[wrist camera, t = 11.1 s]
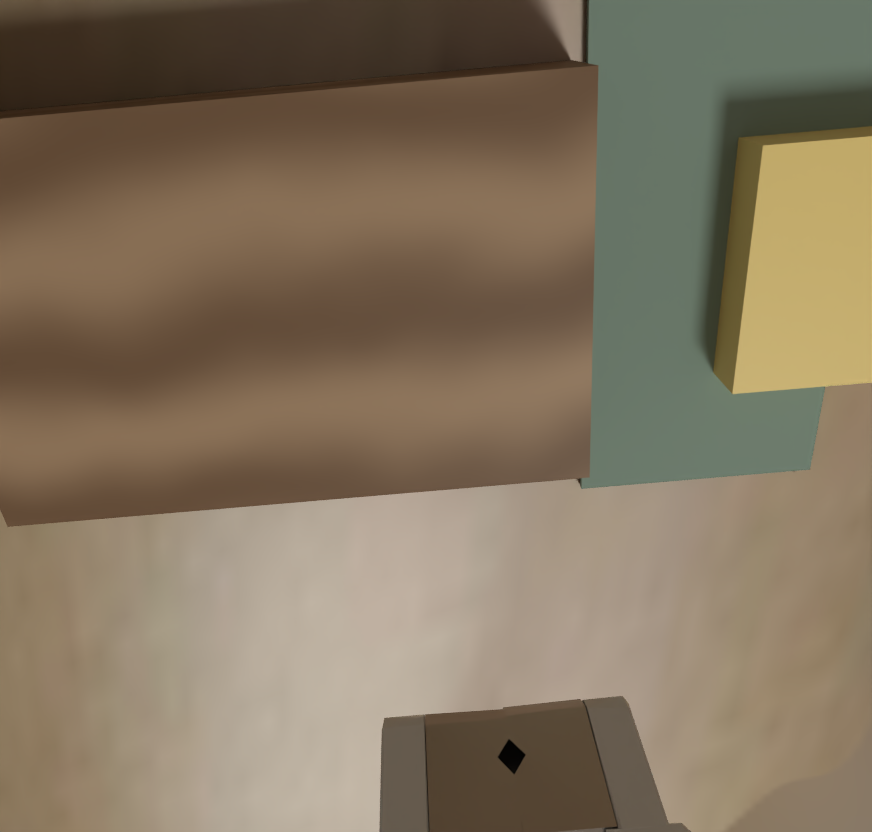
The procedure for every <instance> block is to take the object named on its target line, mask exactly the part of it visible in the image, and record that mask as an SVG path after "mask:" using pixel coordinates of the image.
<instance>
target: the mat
mask: <svg viewBox="0 0 872 832" xmlns="http://www.w3.org/2000/svg"><path fill="white" fill-rule="evenodd" d="M586 63H589V64H594V65H598V112H597V159H596V205H595V252H594V298H593V345H592V392H591V438H590V478H580V486H581V489H584V488H596V487H608V486H620V485H631V484H643V483H655V482H667V481H679V480H691V479H703V478H714V477H726V476H738V475H750V474H762V473H774V472H785V471H797V470H809V469H810V466H811V460H812V455H813V450H814V444H815V439H816V433H817V428H818V423H819V417H820V412H821V407H822V401H823V396H824V390H825V386H824V387H812V388H800V389H788V390H776V391H764V392H752V393H740V394H732V393H731V392H730V391H729V390H728V389H727V388H726V386H725V385H724V384H723V383H722V382H721V381H720V380H719V379H718V377H717V376H716V375H715V374H714V373H713V369H714V360H715V351H716V342H717V333H718V323H719V314H720V305H721V296H722V286H723V277H724V268H725V259H726V249H727V240H728V231H729V222H730V212H731V203H732V194H733V185H734V175H735V166H736V157H737V148H738V139H739V138H740V137H751V136H763V135H774V134H786V133H798V132H809V131H821V130H832V129H844V128H856V127H867V126H872V0H587V37H586Z"/></svg>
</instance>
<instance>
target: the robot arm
mask: <svg viewBox="0 0 872 832" xmlns="http://www.w3.org/2000/svg"><path fill="white" fill-rule="evenodd" d="M380 832H691V831H690V830H689V829H687V828H686V827H685V826H684V825H683V824H682V823H671V824H669V823H668V820H667V817H666V814H665V811H664V808H663V805H662V802H661V799H660V796H659V793H658V790H657V787H656V784H655V781H654V778H653V775H652V772H651V769H650V766H649V763H648V760H647V757H646V754H645V751H644V748H643V745H642V742H641V739H640V736H639V733H638V730H637V727H636V725H635V722H634V719H633V716H632V713H631V710H630V707H629V704H628V702H627V701H626V700H625V699H624V697H623V696H617V697H607V698H597V699H588V700H583V701H581V700H580V699H577V700H567V701H558V702H549V703H540V704H531V705H522V706H513V707H504V708H503V709H501V710H486V711H471V712H456V713H441V714H426V715H413V716H402V717H390V718H384V723H383V728H382V746H381V790H380Z"/></svg>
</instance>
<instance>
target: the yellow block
mask: <svg viewBox="0 0 872 832" xmlns="http://www.w3.org/2000/svg"><path fill="white" fill-rule="evenodd" d="M713 373H714V374H715V375H716V376H717V377H718V379H719V380H720V381H721V382H722V383H723V384H724V385H725V386H726V388H727V389H728V390H729V391H730V392H731V393H732V394H740V393H752V392H764V391H776V390H788V389H800V388H812V387H824V386H836V385H848V384H860V383H872V126H867V127H856V128H844V129H832V130H821V131H809V132H798V133H786V134H774V135H763V136H751V137H740V138H739V139H738V148H737V157H736V166H735V175H734V185H733V194H732V203H731V212H730V222H729V231H728V240H727V249H726V259H725V268H724V277H723V286H722V296H721V305H720V314H719V323H718V333H717V342H716V351H715V360H714V369H713Z"/></svg>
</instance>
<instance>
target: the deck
mask: <svg viewBox="0 0 872 832" xmlns="http://www.w3.org/2000/svg"><path fill="white" fill-rule="evenodd" d="M597 112H598V65H594V64H589V63H584V62H578V61H573V60H568V61H557V62H545V63H534V64H523V65H512V66H501V67H489V68H478V69H467V70H456V71H445V72H434V73H422V74H411V75H400V76H389V77H378V78H367V79H355V80H344V81H333V82H322V83H311V84H299V85H288V86H277V87H266V88H255V89H244V90H232V91H221V92H210V93H199V94H188V95H176V96H165V97H154V98H143V99H132V100H121V101H109V102H98V103H87V104H76V105H65V106H53V107H42V108H31V109H20V110H9V111H0V510H1V512H2V514H3V517H4V519H5V521H6V524H7V526H8V527H10V526H22V525H33V524H45V523H57V522H69V521H81V520H93V519H104V518H116V517H128V516H140V515H152V514H164V513H175V512H187V511H199V510H211V509H223V508H235V507H246V506H258V505H270V504H282V503H294V502H306V501H317V500H329V499H341V498H353V497H365V496H377V495H388V494H400V493H412V492H424V491H436V490H448V489H459V488H471V487H483V486H495V485H507V484H519V483H530V482H542V481H554V480H566V479H578V478H590V438H591V392H592V345H593V298H594V252H595V205H596V159H597Z"/></svg>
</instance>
